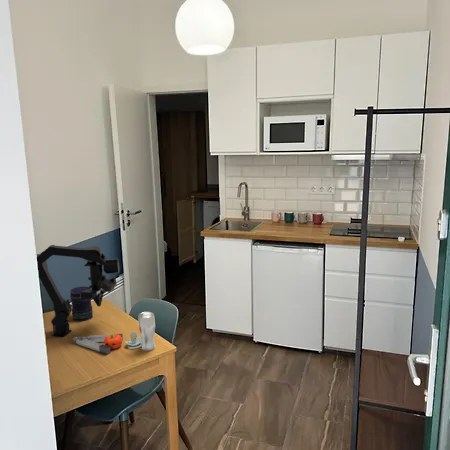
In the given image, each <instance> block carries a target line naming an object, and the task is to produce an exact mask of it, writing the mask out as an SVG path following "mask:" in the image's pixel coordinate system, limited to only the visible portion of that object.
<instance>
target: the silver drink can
mask: <svg viewBox="0 0 450 450" xmlns="http://www.w3.org/2000/svg"><path fill="white" fill-rule="evenodd" d="M137 323H138V330H139V331H138V332H139V335H140V338H141V340H142V342H141V343H142V344H141V347H140V349H141V350H142V351H145V352H147V351H148V352H149V351H152V350H154V349H156V342H155V333H156V332H155V331H156V319H155V313H154V312H151V311H144V312H143V311H142V312H141V313H139V314H138V320H137Z"/></svg>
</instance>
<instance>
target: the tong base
mask: <svg viewBox="0 0 450 450" xmlns="http://www.w3.org/2000/svg"><path fill="white" fill-rule="evenodd" d="M72 343H73V344H74V345H79V346H82V347H84V348H88V349H90V350H93V351H96V352H99V353H101V354H103V355H106V356H107V355H109V354H110V353H111V349H110V347H109V346H106V345H104V343H103V344H101V343H100V342H93V341H90V340H87V339H84V340H79V337H78V335H74V336H72Z"/></svg>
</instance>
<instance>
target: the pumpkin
mask: <svg viewBox="0 0 450 450" xmlns="http://www.w3.org/2000/svg"><path fill="white" fill-rule="evenodd" d="M117 334H118V333H111V334H108V335H109V336H107V337H106V338H105V339H104V342H103V345H106V346H109V347H110V350H114V349H118V348H120V346H121V345H122V343H123V340H122V337H121V336H120V335H117Z"/></svg>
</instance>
